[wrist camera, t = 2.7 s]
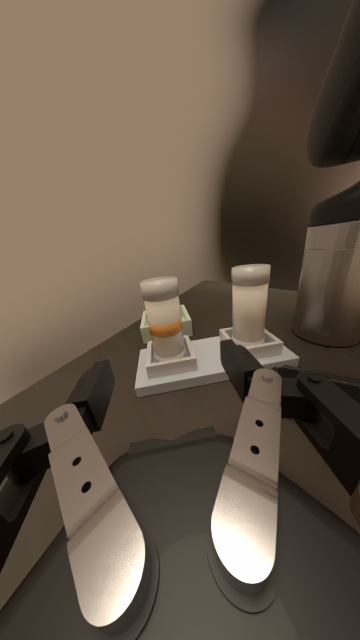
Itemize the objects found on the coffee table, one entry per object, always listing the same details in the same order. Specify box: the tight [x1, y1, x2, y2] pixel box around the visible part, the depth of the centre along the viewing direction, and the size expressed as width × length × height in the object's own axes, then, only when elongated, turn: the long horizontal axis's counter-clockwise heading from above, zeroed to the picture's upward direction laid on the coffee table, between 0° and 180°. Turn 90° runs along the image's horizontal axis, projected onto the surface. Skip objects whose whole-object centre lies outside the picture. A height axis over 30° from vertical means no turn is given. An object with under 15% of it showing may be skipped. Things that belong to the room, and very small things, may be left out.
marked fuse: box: [140, 276, 186, 363], centre depth 24 cm, size 5×5×12 cm
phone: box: [273, 365, 360, 421], centre depth 18 cm, size 8×1×15 cm
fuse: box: [232, 264, 270, 347], centre depth 25 cm, size 5×5×12 cm
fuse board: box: [135, 327, 299, 398], centre depth 26 cm, size 22×9×4 cm, turn 97°
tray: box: [140, 305, 193, 344], centre depth 39 cm, size 10×10×4 cm
